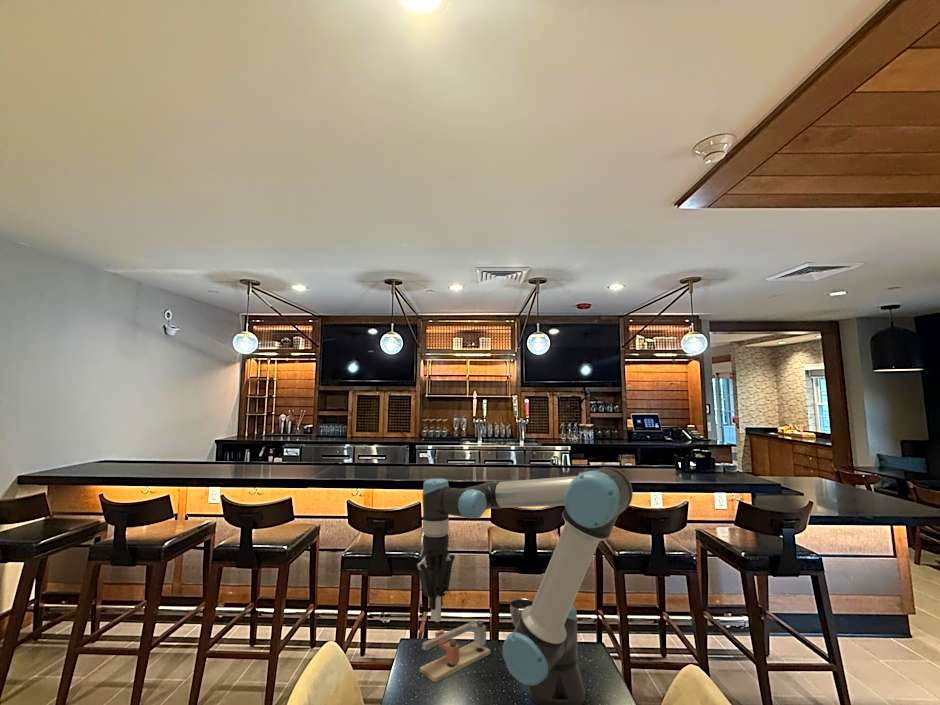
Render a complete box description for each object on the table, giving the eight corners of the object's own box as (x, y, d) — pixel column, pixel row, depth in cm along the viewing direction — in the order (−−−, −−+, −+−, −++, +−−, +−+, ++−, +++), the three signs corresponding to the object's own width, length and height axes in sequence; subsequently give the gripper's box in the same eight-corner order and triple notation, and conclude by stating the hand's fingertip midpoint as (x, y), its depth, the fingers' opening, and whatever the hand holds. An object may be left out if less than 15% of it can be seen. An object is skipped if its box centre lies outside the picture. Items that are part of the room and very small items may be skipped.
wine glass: (535, 649, 144) (535, 599, 145) (537, 663, 136) (536, 610, 138) (510, 647, 144) (510, 598, 146) (510, 661, 137) (510, 608, 138)
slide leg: (458, 662, 133) (459, 639, 134) (452, 666, 131) (452, 642, 132) (441, 652, 139) (442, 629, 139) (435, 655, 137) (435, 632, 138)
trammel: (485, 650, 141) (486, 622, 142) (435, 676, 127) (435, 644, 128) (472, 642, 145) (472, 615, 146) (421, 667, 131) (422, 636, 132)
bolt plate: (490, 653, 141) (490, 649, 141) (435, 682, 126) (435, 678, 126) (474, 645, 146) (474, 641, 146) (419, 671, 131) (419, 667, 131)
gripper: (444, 527, 140) (444, 609, 137) (410, 535, 131) (409, 623, 128) (460, 531, 134) (461, 616, 131) (426, 540, 125) (426, 632, 122)
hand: (435, 619), depth 129 cm, fingers closed
